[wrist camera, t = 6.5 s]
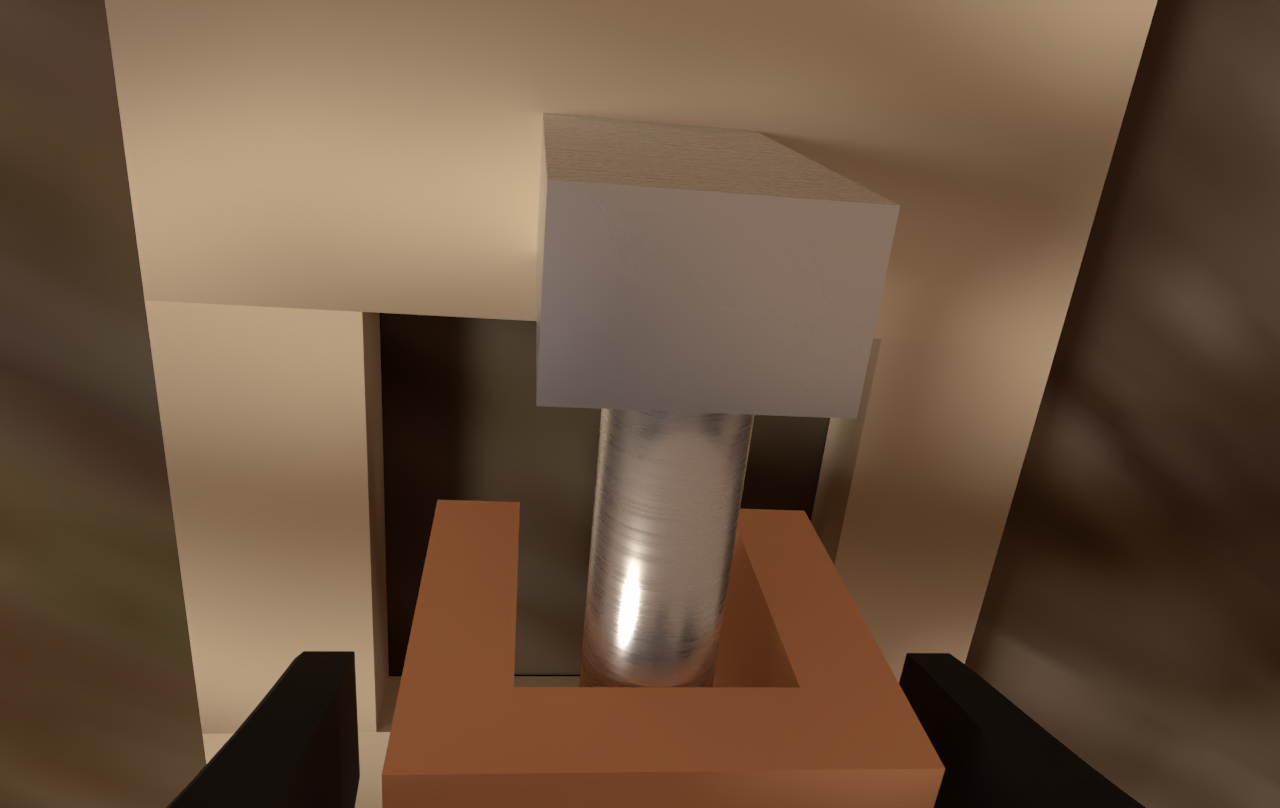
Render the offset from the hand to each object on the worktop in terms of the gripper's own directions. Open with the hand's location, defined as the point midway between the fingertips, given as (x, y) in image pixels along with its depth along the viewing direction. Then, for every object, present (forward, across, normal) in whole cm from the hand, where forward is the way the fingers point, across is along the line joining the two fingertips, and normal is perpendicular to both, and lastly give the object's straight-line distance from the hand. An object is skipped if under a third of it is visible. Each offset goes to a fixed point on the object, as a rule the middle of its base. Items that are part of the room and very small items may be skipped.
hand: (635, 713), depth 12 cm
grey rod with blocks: (+4, 0, 0) cm, 4 cm away
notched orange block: (+3, 0, 0) cm, 3 cm away
